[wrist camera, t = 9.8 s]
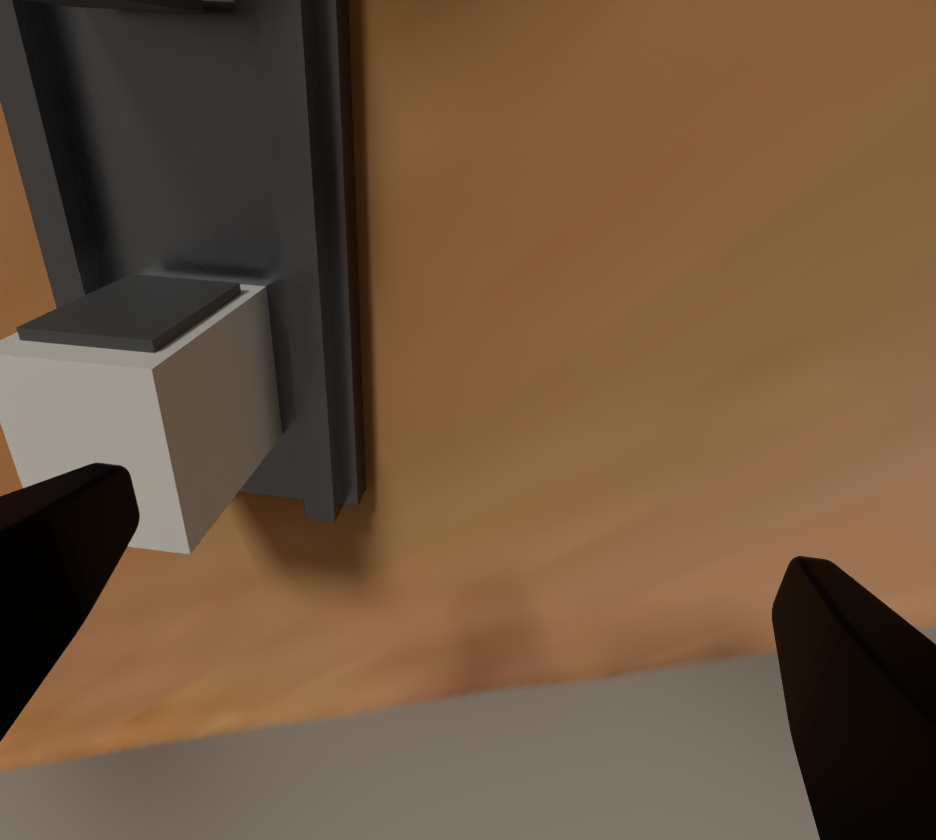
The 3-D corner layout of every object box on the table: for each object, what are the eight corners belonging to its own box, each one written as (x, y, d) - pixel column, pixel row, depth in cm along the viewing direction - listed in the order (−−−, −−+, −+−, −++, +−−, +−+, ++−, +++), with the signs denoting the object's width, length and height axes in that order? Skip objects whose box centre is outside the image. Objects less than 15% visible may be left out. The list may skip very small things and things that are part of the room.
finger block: (282, 434, 21) (190, 554, 16) (166, 422, 21) (39, 535, 16) (265, 276, 19) (148, 356, 13) (134, 265, 19) (-29, 339, 14)
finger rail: (331, -449, 12) (294, -535, 11) (365, 489, 23) (349, 523, 21) (-94, -441, 13) (-194, -520, 11) (128, 462, 24) (93, 493, 22)
